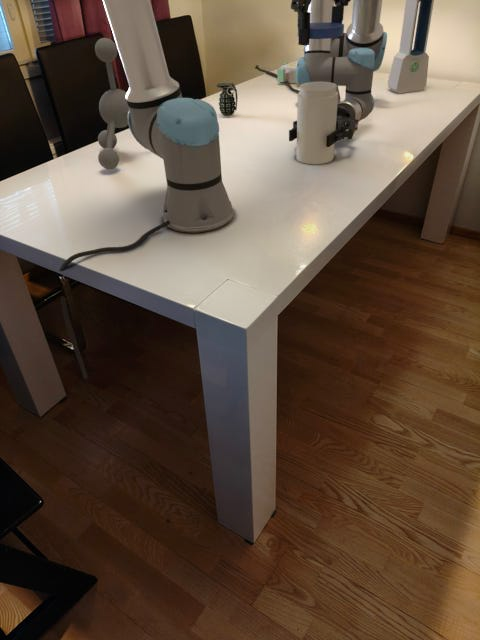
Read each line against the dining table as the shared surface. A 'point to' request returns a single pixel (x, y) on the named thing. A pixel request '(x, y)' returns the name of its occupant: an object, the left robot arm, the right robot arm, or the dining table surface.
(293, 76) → the decorative block
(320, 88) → the jar
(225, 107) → the grenade
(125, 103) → the molecular model
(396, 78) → the electronic device
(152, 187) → the dining table surface
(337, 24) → the lid
